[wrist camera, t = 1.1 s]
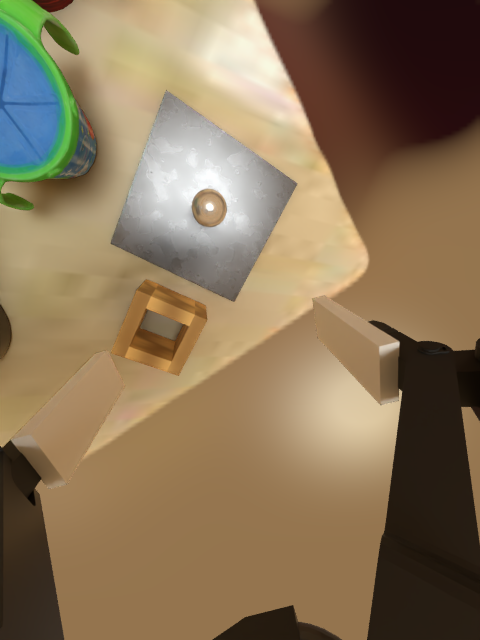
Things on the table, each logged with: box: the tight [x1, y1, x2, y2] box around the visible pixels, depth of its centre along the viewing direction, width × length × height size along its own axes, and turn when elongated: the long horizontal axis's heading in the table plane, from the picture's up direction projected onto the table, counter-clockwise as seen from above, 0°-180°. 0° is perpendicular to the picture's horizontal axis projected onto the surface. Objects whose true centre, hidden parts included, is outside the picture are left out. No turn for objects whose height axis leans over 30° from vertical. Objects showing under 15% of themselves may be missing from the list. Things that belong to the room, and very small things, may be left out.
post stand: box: [111, 90, 297, 302], centre depth 26 cm, size 18×18×12 cm
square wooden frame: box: [111, 279, 207, 376], centre depth 33 cm, size 9×9×6 cm
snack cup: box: [0, 0, 97, 210], centre depth 22 cm, size 16×10×10 cm
